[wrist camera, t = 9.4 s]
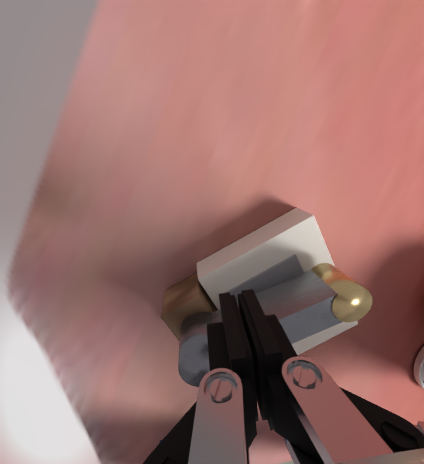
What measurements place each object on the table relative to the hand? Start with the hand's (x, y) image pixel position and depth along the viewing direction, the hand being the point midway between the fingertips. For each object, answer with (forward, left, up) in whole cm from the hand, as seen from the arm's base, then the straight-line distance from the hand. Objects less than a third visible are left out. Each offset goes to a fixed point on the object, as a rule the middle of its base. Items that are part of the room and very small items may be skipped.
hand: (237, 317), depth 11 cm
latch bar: (-1, +7, -9) cm, 11 cm away
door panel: (-3, +9, -14) cm, 17 cm away
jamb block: (+5, +6, -14) cm, 16 cm away
